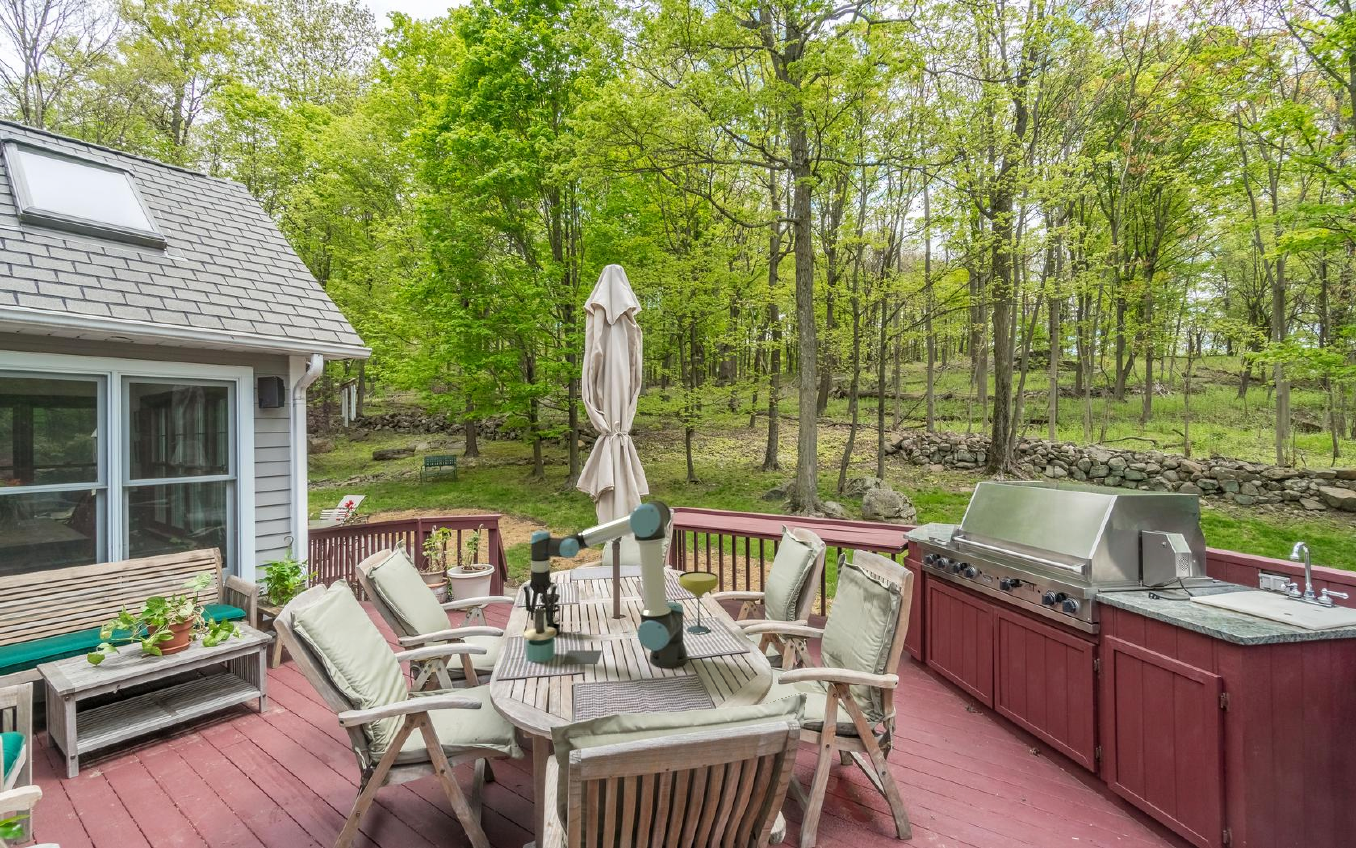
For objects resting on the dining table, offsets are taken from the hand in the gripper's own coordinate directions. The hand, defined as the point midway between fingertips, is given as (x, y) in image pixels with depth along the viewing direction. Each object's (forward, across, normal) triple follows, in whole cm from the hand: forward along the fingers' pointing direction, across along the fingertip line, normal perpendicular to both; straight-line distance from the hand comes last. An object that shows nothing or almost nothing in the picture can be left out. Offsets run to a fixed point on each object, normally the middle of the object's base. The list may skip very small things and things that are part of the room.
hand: (540, 628), depth 236 cm
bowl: (+12, 0, 0) cm, 12 cm away
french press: (+12, +3, -28) cm, 31 cm away
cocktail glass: (+12, -65, -33) cm, 74 cm away
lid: (+3, 0, 0) cm, 3 cm away
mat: (+12, -17, 0) cm, 21 cm away
